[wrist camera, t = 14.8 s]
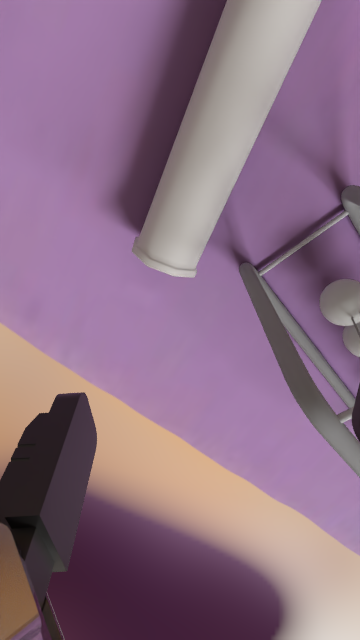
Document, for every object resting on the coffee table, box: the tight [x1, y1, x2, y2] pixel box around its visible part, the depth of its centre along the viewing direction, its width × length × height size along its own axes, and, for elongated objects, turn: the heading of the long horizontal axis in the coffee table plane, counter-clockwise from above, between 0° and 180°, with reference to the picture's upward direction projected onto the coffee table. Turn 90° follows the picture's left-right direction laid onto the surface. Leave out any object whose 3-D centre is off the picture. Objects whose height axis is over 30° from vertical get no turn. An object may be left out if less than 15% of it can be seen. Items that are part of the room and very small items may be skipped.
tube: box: [132, 0, 322, 277], centre depth 21 cm, size 5×5×25 cm
